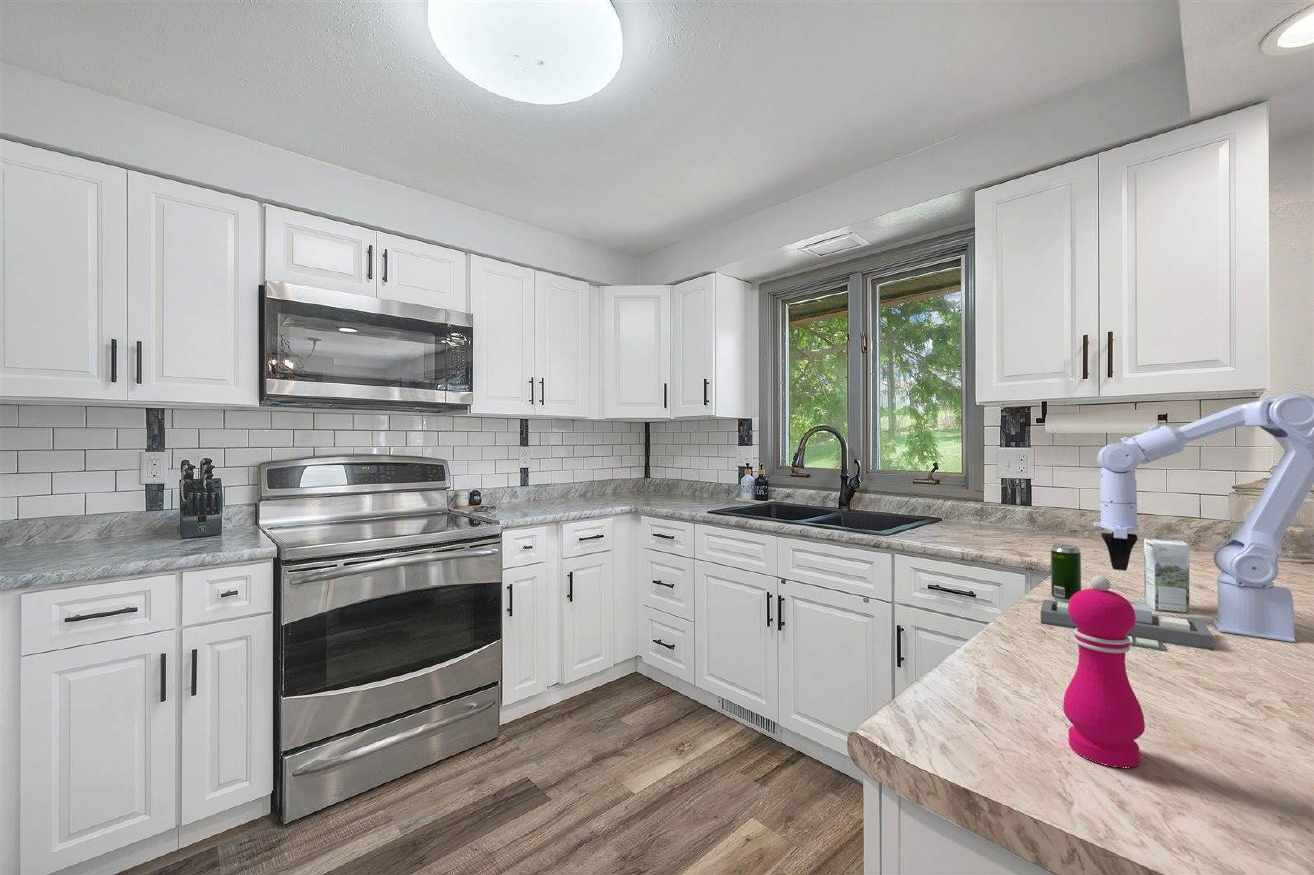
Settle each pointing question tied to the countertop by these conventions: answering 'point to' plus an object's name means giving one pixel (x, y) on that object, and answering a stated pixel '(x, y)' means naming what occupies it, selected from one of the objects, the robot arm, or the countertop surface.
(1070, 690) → the pepper mill
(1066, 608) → the key sage
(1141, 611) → the key slate
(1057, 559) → the beer can
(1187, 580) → the syrup box
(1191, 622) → the grey shallow tray
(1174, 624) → the key cream
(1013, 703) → the countertop surface
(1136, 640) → the strip
